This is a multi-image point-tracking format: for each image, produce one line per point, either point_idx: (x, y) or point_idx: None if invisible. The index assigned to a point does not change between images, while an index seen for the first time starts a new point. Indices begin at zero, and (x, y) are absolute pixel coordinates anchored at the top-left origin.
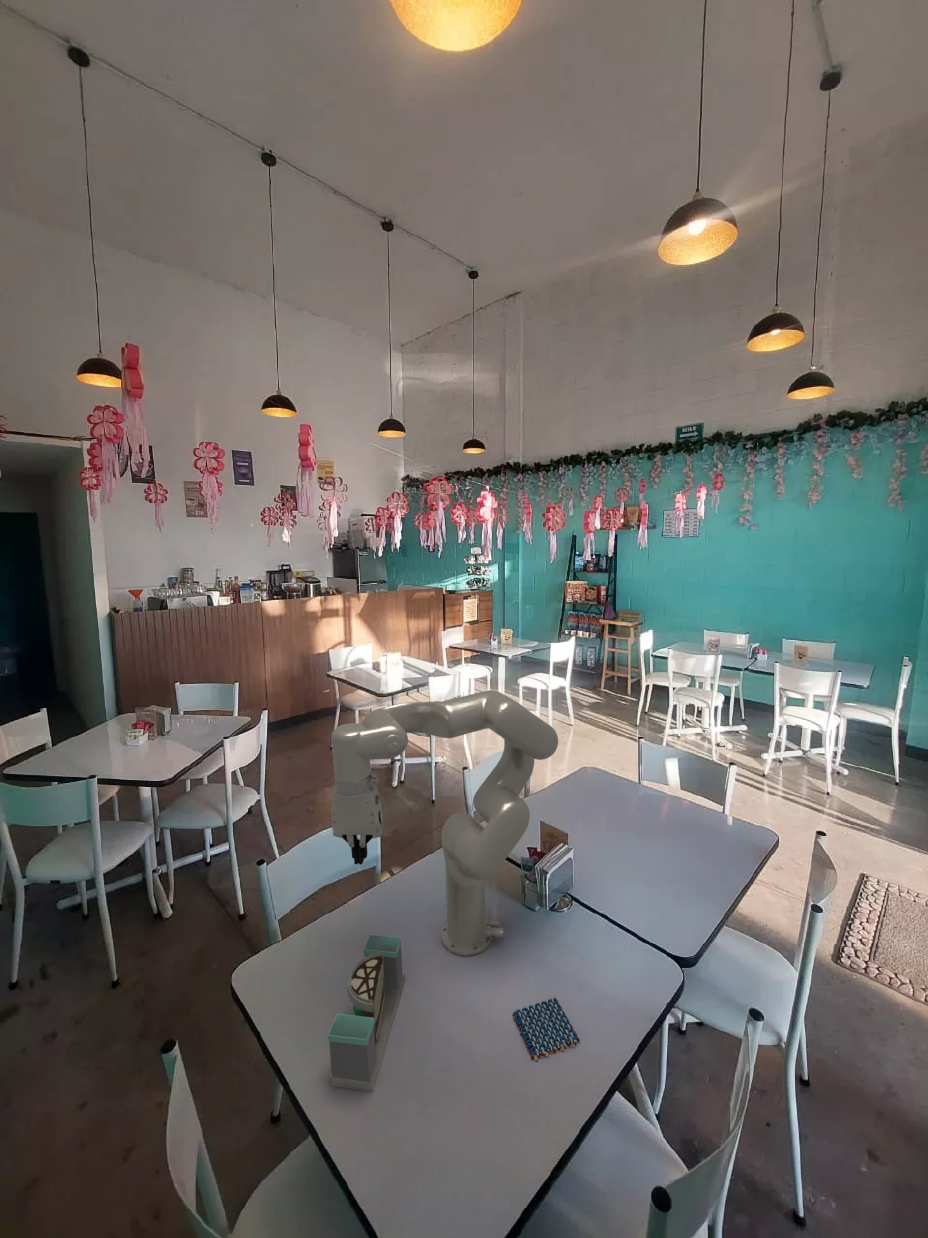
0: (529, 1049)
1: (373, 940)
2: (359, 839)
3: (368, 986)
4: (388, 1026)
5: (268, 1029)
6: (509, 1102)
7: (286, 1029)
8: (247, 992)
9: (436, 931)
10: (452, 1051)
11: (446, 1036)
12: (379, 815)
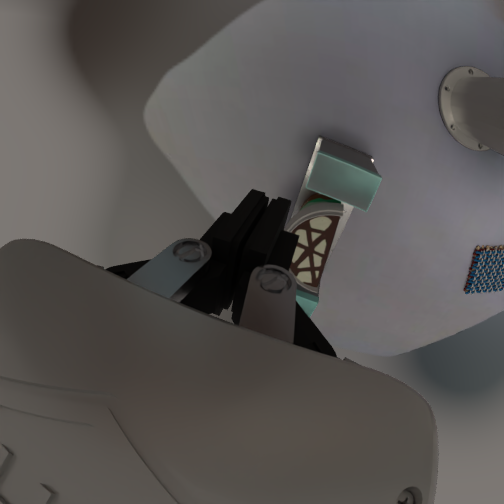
0: (466, 288)
1: (325, 170)
2: (228, 245)
3: (312, 264)
4: (340, 233)
5: (194, 186)
6: (428, 311)
7: (214, 190)
8: (154, 134)
9: (431, 76)
10: (404, 263)
11: (404, 247)
12: (421, 472)
